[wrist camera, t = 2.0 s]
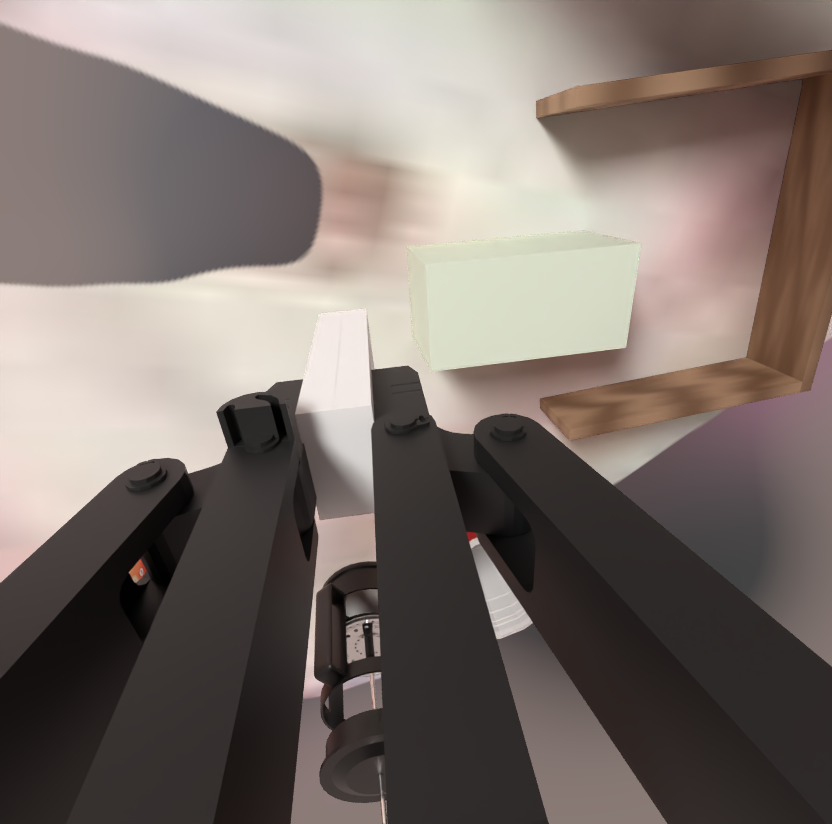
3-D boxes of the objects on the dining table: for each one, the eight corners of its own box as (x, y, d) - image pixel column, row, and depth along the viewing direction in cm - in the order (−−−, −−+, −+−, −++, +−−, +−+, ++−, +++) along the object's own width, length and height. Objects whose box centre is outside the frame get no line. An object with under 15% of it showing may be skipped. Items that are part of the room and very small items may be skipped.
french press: (429, 594, 52) (493, 863, 32) (365, 640, 54) (387, 924, 33) (358, 537, 47) (380, 814, 26) (289, 589, 48) (260, 889, 28)
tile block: (412, 335, 39) (430, 371, 32) (406, 246, 35) (425, 264, 28) (573, 317, 40) (626, 347, 33) (581, 230, 37) (641, 243, 30)
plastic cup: (537, 486, 48) (596, 575, 37) (464, 556, 50) (500, 657, 40) (461, 431, 43) (504, 513, 33) (386, 509, 46) (403, 610, 35)
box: (540, 408, 44) (569, 440, 38) (536, 100, 32) (576, 86, 27) (754, 365, 45) (810, 390, 40) (819, 59, 34) (909, 38, 29)
